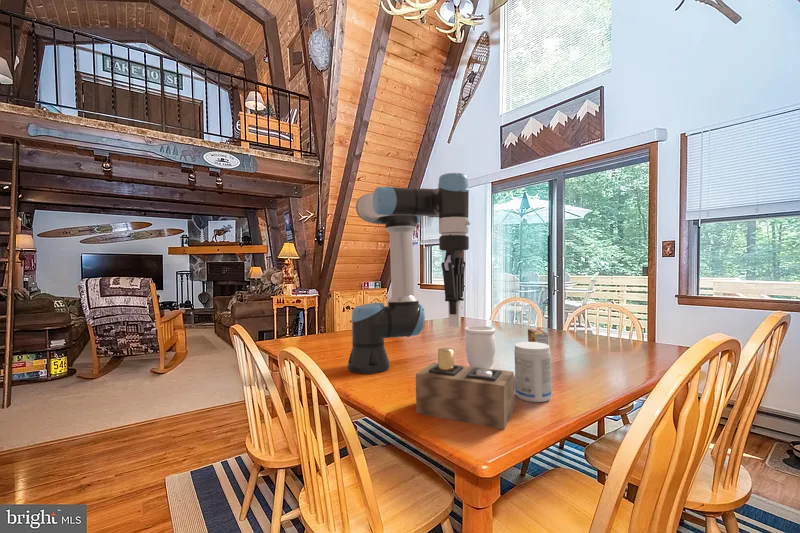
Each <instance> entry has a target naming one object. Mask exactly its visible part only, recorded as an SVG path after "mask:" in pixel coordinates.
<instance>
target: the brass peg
mask: <svg viewBox="0 0 800 533" xmlns="http://www.w3.org/2000/svg"><path fill="white" fill-rule="evenodd" d="M437 351H438V354H437V356H438V357H437V358H438V359H437V361H438V362H437V363H438V367H439V370H440V371H448V372H453V371H454V365H455V356H454V355H455V353H454V352H455V351H454V348H452V347H440V348H438V349H437Z"/></svg>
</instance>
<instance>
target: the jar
mask: <svg viewBox="0 0 800 533" xmlns="http://www.w3.org/2000/svg"><path fill="white" fill-rule="evenodd" d="M464 331H465V332H466V334H465V340H464V342H465V343H464V345H465V347H464V348H465V353H466V354H465V355H466V359H467V362H468V364H469V367H477V368H486V369H493V365H494V362H495V355H496V349H497V345H496V344H497V343H496V338H495V336H496V335H495V332H496V328H495V327H491V326H487V325H486V326H485V325H484V326H483V325H472V326H471V325H470V326H465V327H464Z"/></svg>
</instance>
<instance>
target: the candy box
mask: <svg viewBox="0 0 800 533" xmlns="http://www.w3.org/2000/svg"><path fill="white" fill-rule="evenodd" d="M527 342H539V343H544V344H547V345H549V333H547V332H545V331H544V330H542V329H540V328H527Z"/></svg>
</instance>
